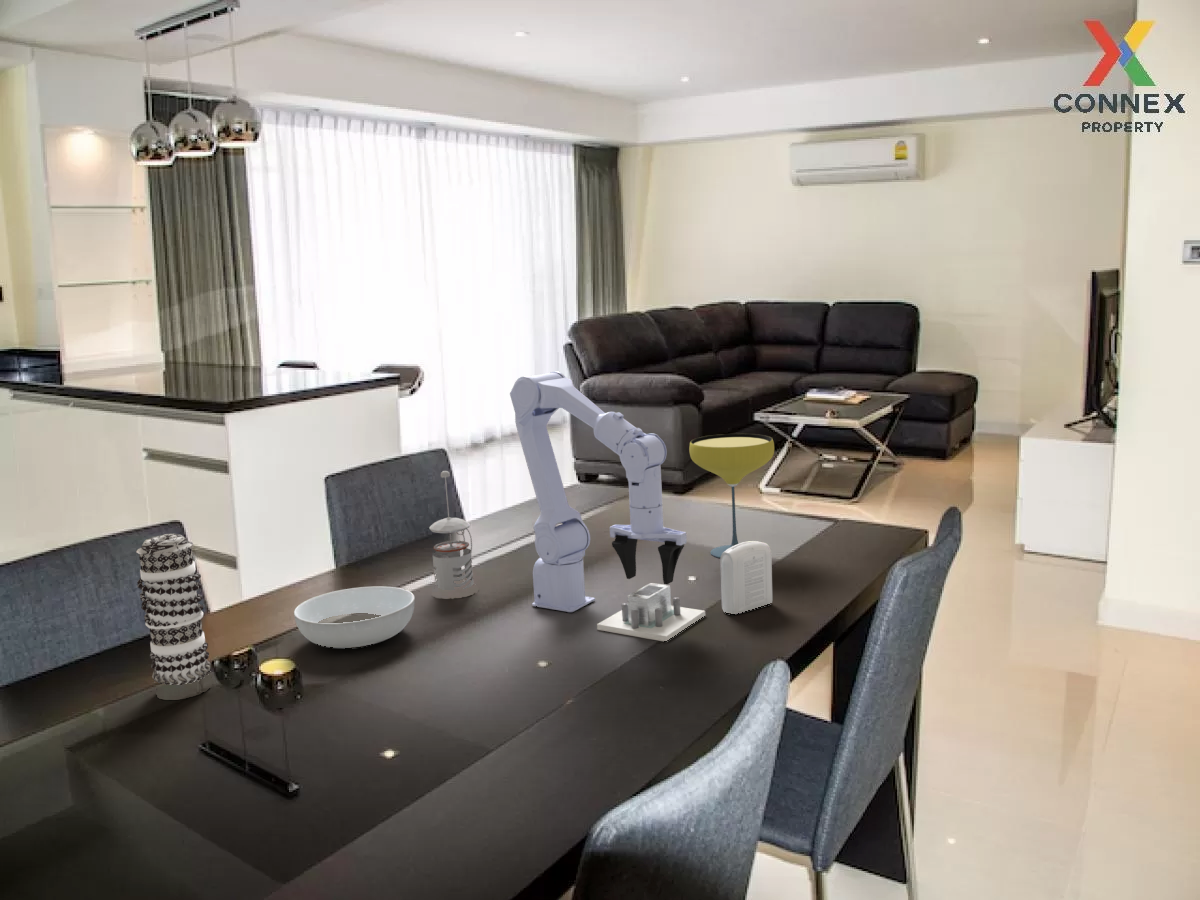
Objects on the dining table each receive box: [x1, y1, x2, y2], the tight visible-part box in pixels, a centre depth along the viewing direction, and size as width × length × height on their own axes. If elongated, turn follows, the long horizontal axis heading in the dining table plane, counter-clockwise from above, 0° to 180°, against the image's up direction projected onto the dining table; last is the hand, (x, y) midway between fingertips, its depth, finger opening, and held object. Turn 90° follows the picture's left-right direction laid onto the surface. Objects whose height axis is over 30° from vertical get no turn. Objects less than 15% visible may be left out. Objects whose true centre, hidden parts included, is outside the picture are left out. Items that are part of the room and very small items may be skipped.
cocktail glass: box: [688, 433, 775, 559], centre depth 213 cm, size 18×18×25 cm
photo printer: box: [719, 540, 773, 615], centre depth 178 cm, size 10×4×12 cm, turn 123°
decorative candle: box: [136, 533, 212, 686], centre depth 154 cm, size 9×9×25 cm
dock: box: [596, 596, 706, 642], centre depth 174 cm, size 14×14×4 cm
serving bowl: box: [293, 585, 416, 649], centre depth 174 cm, size 21×21×7 cm
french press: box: [429, 470, 475, 590], centre depth 198 cm, size 10×12×25 cm
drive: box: [627, 582, 672, 627], centre depth 173 cm, size 4×8×5 cm, turn 146°
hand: (649, 579), depth 173 cm, fingers open, 7 cm apart
